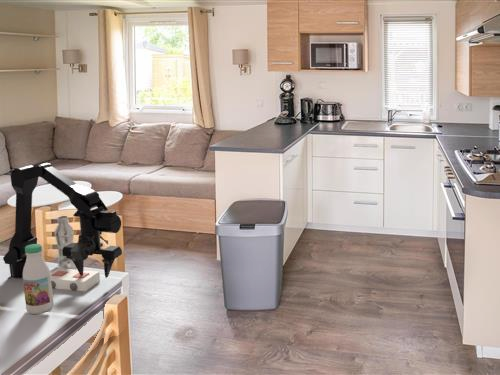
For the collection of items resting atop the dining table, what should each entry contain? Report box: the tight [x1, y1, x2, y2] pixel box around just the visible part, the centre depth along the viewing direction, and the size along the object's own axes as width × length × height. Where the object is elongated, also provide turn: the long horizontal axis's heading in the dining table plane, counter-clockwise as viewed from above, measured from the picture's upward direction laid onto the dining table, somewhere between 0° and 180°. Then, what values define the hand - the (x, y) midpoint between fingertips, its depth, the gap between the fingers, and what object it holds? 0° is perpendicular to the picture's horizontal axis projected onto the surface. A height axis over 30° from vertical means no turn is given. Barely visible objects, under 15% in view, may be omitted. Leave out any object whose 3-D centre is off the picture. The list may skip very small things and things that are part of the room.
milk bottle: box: [22, 243, 55, 315], centre depth 162 cm, size 8×8×20 cm
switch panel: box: [49, 266, 101, 292], centre depth 181 cm, size 17×9×4 cm, turn 74°
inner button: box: [52, 271, 68, 276], centre depth 182 cm, size 4×4×2 cm
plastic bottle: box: [54, 215, 77, 270], centre depth 193 cm, size 6×7×20 cm
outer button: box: [73, 273, 89, 278], centre depth 180 cm, size 4×4×2 cm
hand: (94, 276), depth 178 cm, fingers open, 9 cm apart
